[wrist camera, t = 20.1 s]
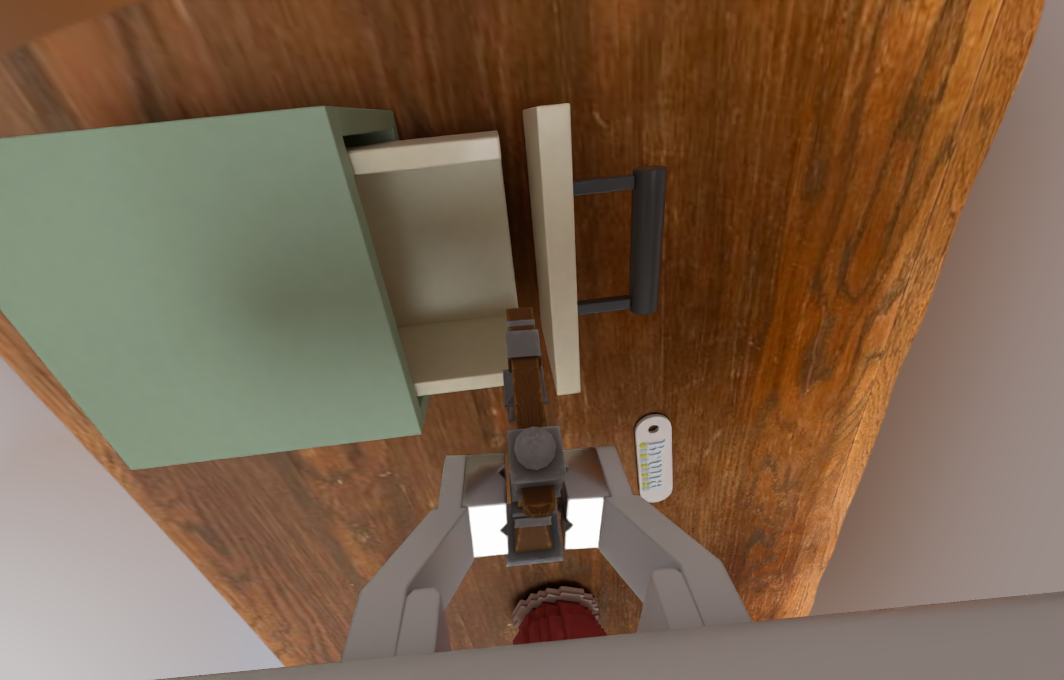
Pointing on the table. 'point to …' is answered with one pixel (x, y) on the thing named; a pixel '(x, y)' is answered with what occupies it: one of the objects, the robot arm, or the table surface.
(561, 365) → the drawer
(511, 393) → the wooden post with brackets
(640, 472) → the keychain
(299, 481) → the table surface
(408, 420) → the cabinet
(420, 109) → the table surface
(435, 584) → the robot arm
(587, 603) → the christmas cupcake
